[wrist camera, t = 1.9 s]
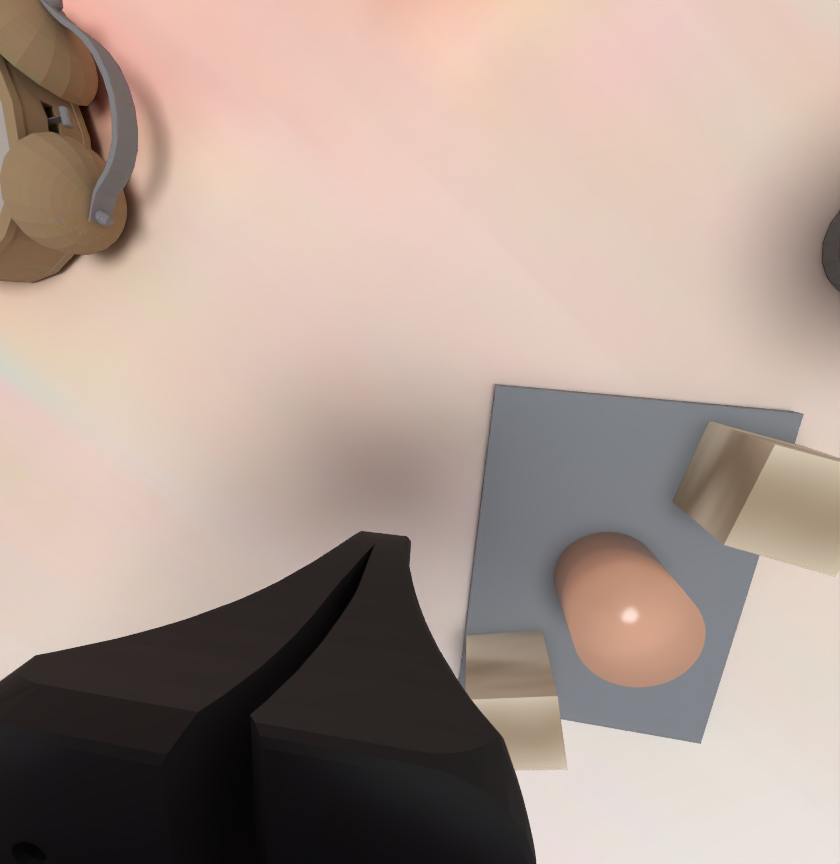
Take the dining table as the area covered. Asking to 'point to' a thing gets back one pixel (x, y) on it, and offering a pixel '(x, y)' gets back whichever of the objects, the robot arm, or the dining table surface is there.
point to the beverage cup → (832, 252)
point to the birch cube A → (517, 696)
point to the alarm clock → (57, 143)
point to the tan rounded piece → (626, 611)
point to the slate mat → (606, 512)
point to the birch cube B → (765, 497)
